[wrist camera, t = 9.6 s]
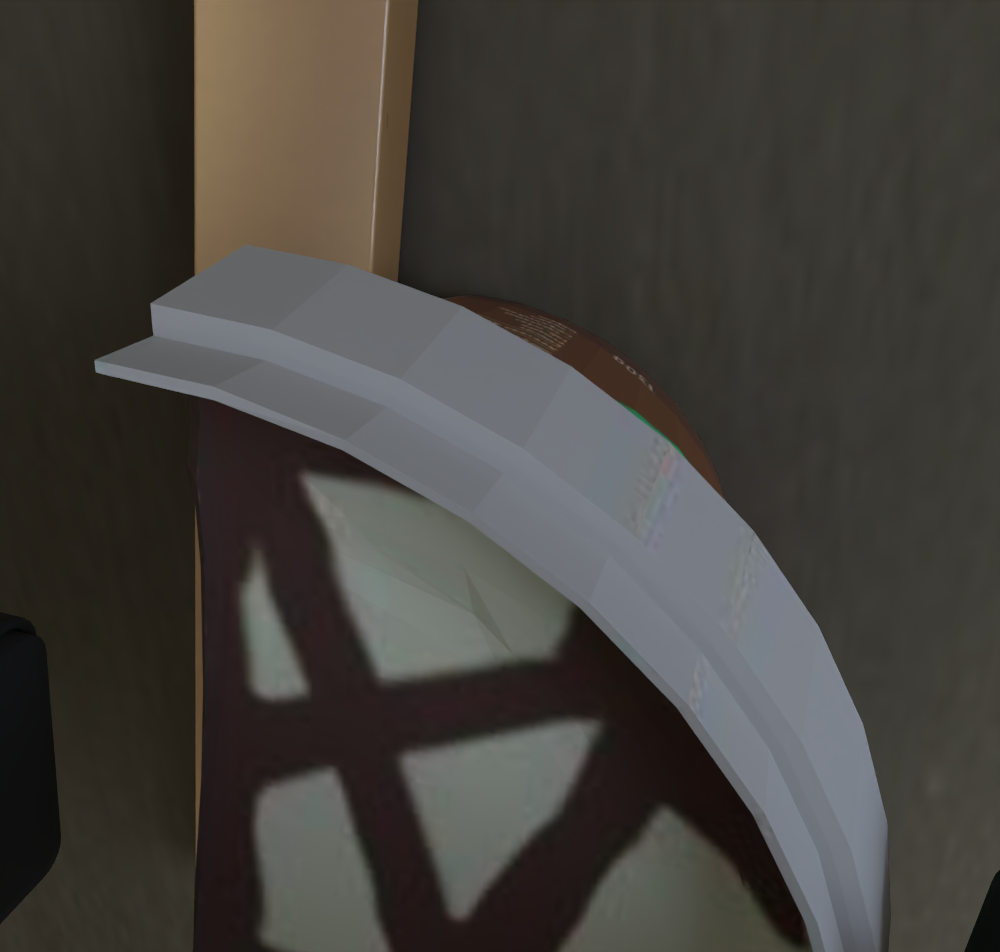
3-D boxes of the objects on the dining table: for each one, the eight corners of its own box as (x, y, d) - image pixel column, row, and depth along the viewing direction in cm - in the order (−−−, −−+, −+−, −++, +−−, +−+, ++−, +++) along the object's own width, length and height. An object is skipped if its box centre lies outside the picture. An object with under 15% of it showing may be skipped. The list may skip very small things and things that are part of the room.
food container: (740, 890, 18) (768, 1668, 9) (436, 823, 19) (172, 1452, 10) (879, 239, 14) (1219, 408, 4) (477, 201, 15) (85, 273, 6)
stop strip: (422, -31, 14) (392, -49, 13) (353, 895, 20) (328, 946, 19) (238, -47, 14) (191, -68, 13) (226, 861, 21) (193, 909, 19)
